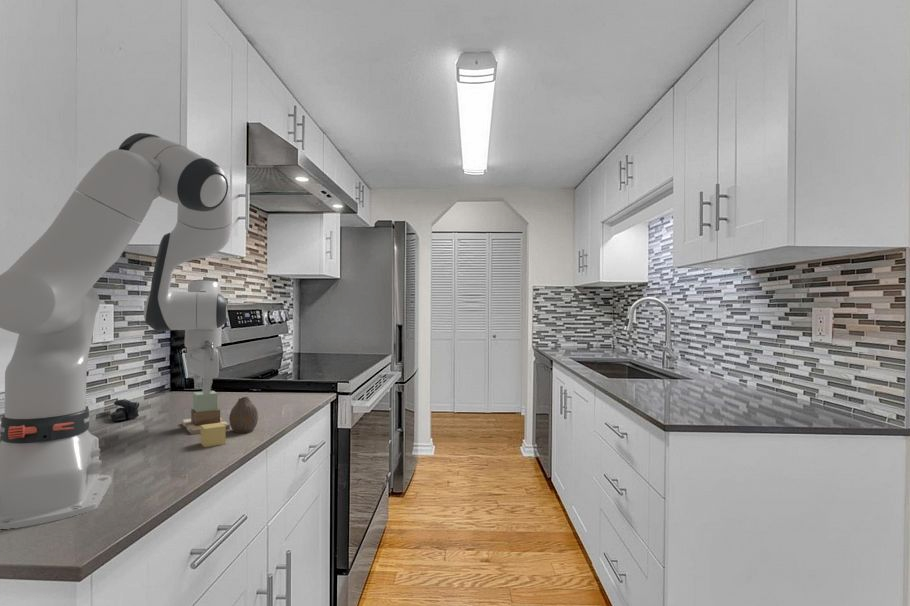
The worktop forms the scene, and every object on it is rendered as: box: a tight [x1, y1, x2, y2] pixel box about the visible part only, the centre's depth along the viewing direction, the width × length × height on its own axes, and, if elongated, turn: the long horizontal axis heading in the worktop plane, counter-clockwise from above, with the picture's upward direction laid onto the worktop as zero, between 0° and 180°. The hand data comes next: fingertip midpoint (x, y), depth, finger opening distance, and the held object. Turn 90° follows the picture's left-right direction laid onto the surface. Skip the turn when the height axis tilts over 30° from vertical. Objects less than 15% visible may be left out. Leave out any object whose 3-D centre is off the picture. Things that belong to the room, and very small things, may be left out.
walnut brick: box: [190, 407, 221, 426], centre depth 134 cm, size 6×6×4 cm
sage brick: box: [192, 390, 218, 412], centre depth 134 cm, size 5×5×4 cm
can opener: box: [110, 398, 140, 422], centre depth 146 cm, size 18×7×6 cm, turn 41°
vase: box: [228, 396, 259, 434], centre depth 130 cm, size 7×7×9 cm
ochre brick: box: [200, 423, 227, 448], centre depth 118 cm, size 4×4×4 cm
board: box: [181, 417, 231, 435], centre depth 134 cm, size 14×9×1 cm, turn 37°
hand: (202, 391), depth 134 cm, fingers open, 8 cm apart
